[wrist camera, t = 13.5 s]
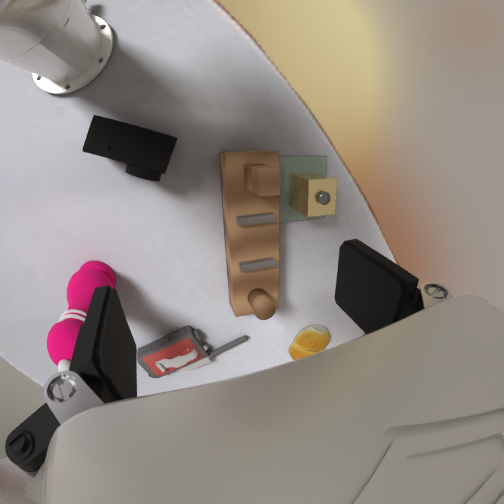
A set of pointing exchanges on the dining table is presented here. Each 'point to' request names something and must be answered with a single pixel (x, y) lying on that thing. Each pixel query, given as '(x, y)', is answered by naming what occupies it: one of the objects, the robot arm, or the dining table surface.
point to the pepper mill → (76, 310)
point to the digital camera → (130, 146)
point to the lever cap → (313, 194)
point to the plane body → (251, 230)
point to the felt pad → (286, 168)
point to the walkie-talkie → (179, 352)
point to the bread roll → (309, 342)
